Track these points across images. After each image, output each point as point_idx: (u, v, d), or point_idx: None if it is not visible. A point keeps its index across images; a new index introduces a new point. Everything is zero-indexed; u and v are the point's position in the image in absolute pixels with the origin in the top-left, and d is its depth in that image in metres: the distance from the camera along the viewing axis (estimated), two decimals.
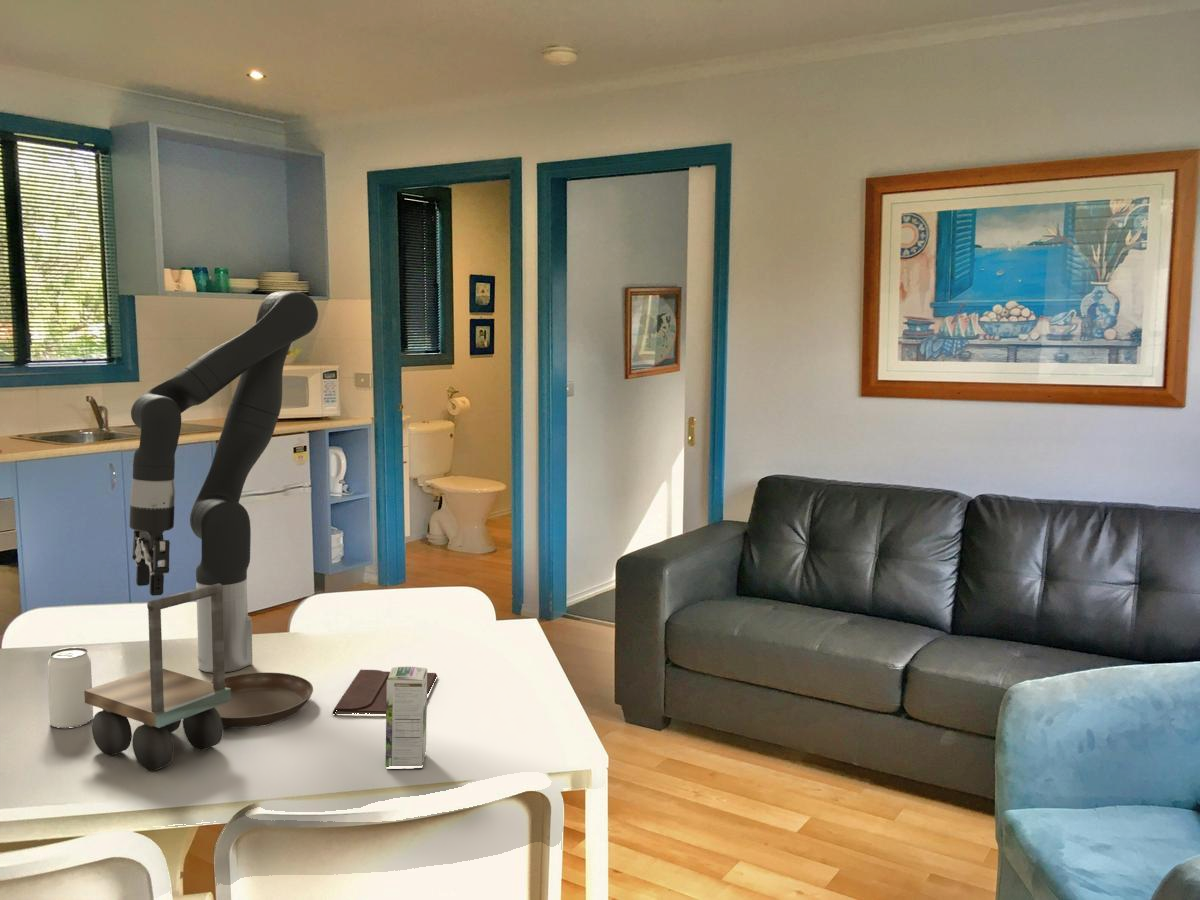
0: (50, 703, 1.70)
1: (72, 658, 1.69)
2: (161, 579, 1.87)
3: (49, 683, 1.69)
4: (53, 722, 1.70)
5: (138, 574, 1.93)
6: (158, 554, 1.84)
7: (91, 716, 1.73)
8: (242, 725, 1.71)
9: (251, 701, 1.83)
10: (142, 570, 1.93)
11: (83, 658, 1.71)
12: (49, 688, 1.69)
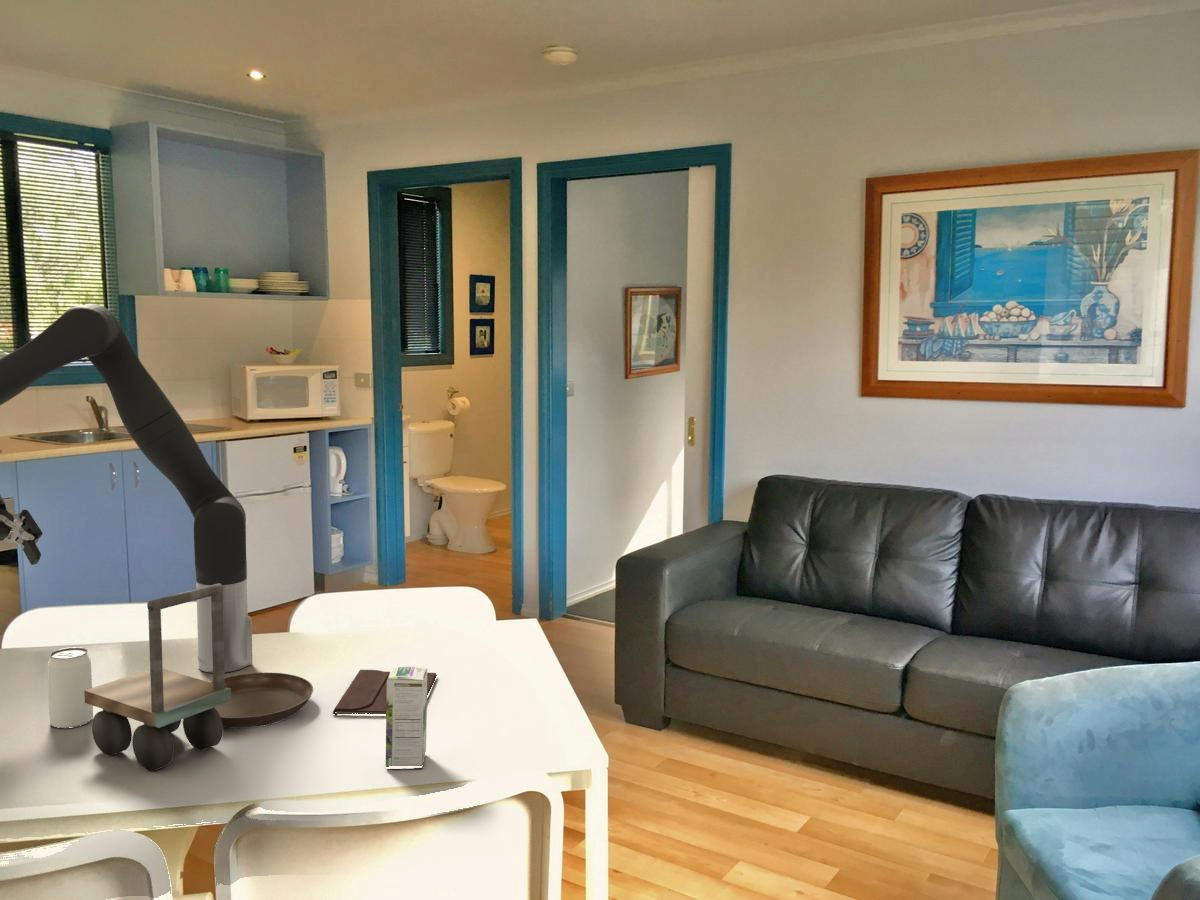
0: (50, 703, 1.70)
1: (72, 658, 1.69)
2: None
3: (49, 683, 1.69)
4: (53, 722, 1.70)
5: (26, 555, 1.80)
6: None
7: (91, 716, 1.73)
8: (242, 725, 1.71)
9: (251, 701, 1.83)
10: (26, 549, 1.80)
11: (83, 658, 1.71)
12: (49, 688, 1.69)
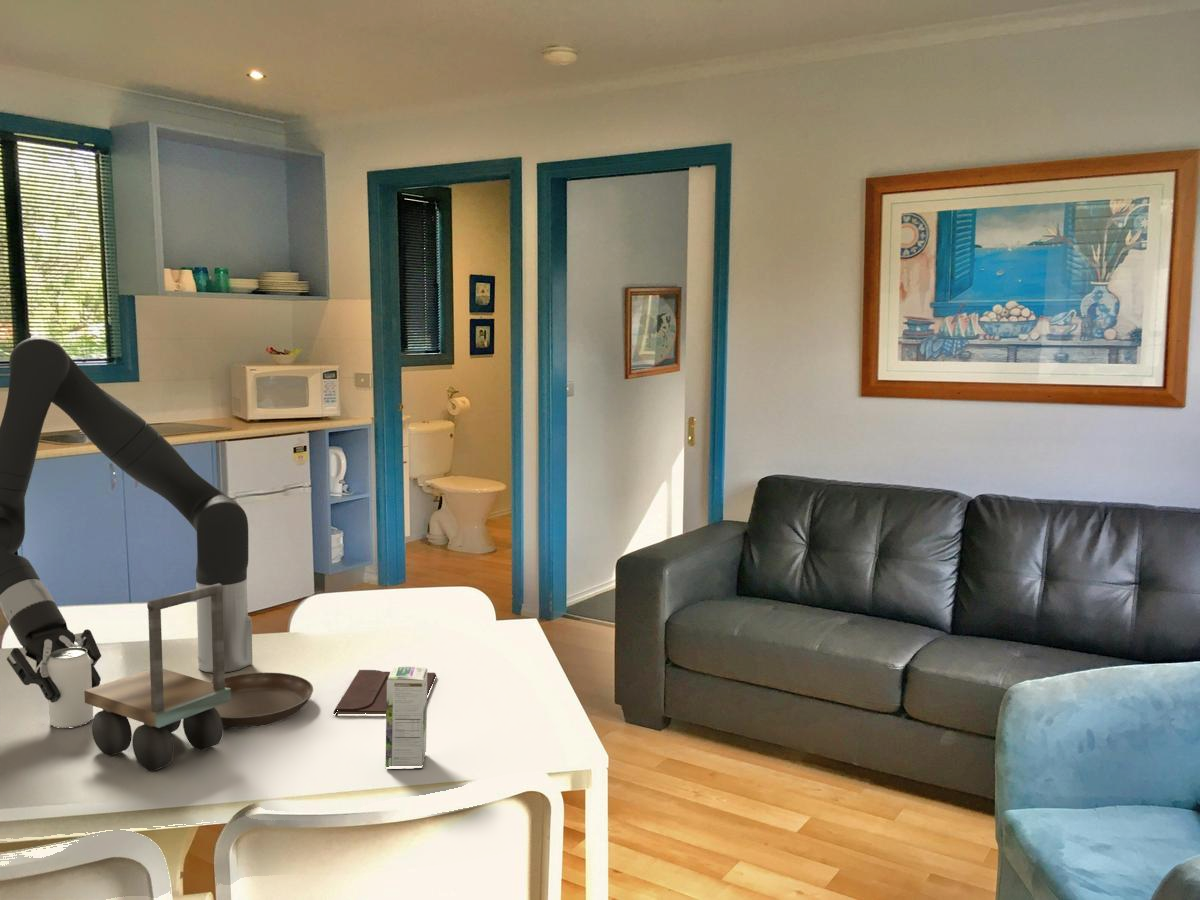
0: (50, 703, 1.70)
1: (72, 658, 1.69)
2: (43, 684, 1.68)
3: None
4: (53, 722, 1.70)
5: None
6: (14, 667, 1.68)
7: (91, 716, 1.73)
8: (242, 725, 1.71)
9: (251, 701, 1.83)
10: None
11: (83, 657, 1.71)
12: None
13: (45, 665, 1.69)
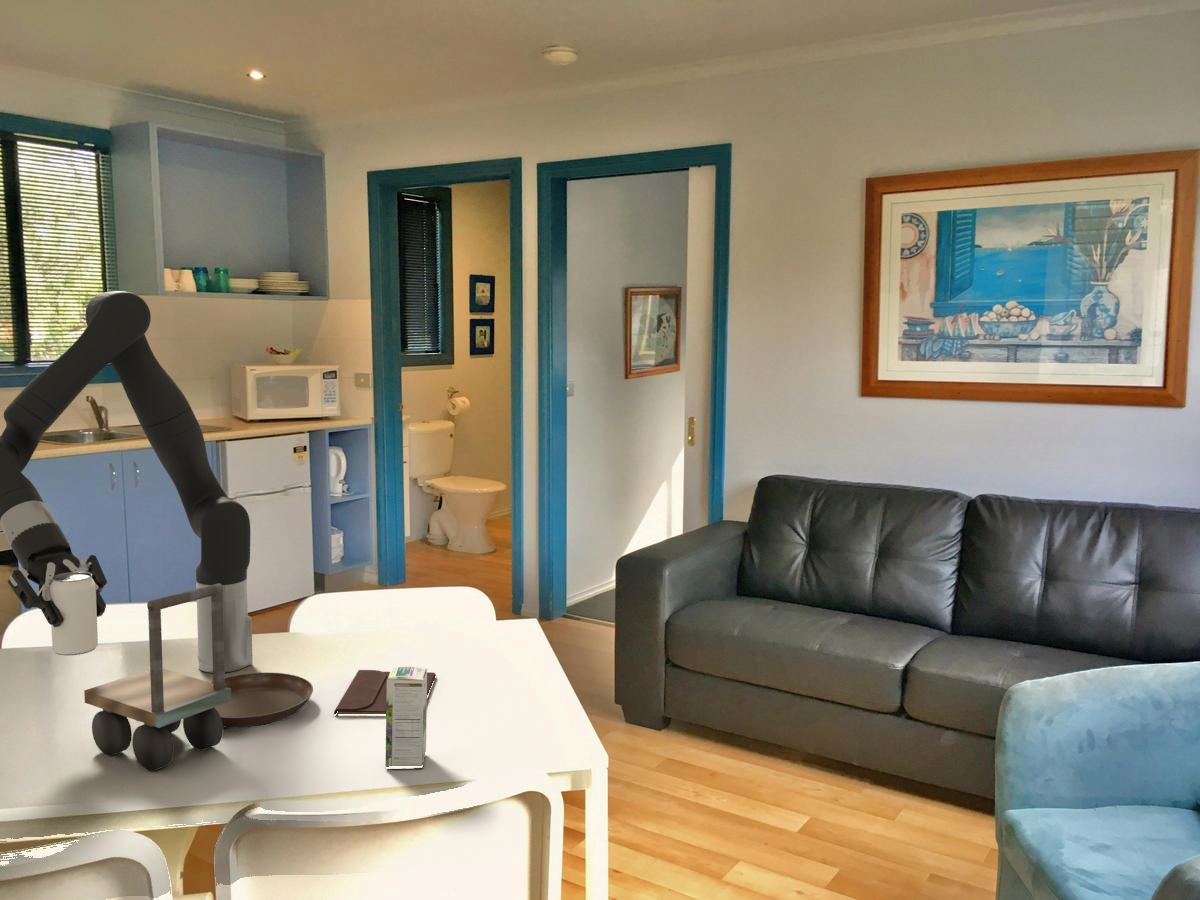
0: (53, 628, 1.61)
1: (76, 581, 1.60)
2: (45, 608, 1.59)
3: None
4: (56, 648, 1.61)
5: None
6: (15, 590, 1.59)
7: (96, 644, 1.64)
8: (242, 725, 1.71)
9: (251, 701, 1.83)
10: None
11: (87, 581, 1.62)
12: None
13: (48, 588, 1.61)
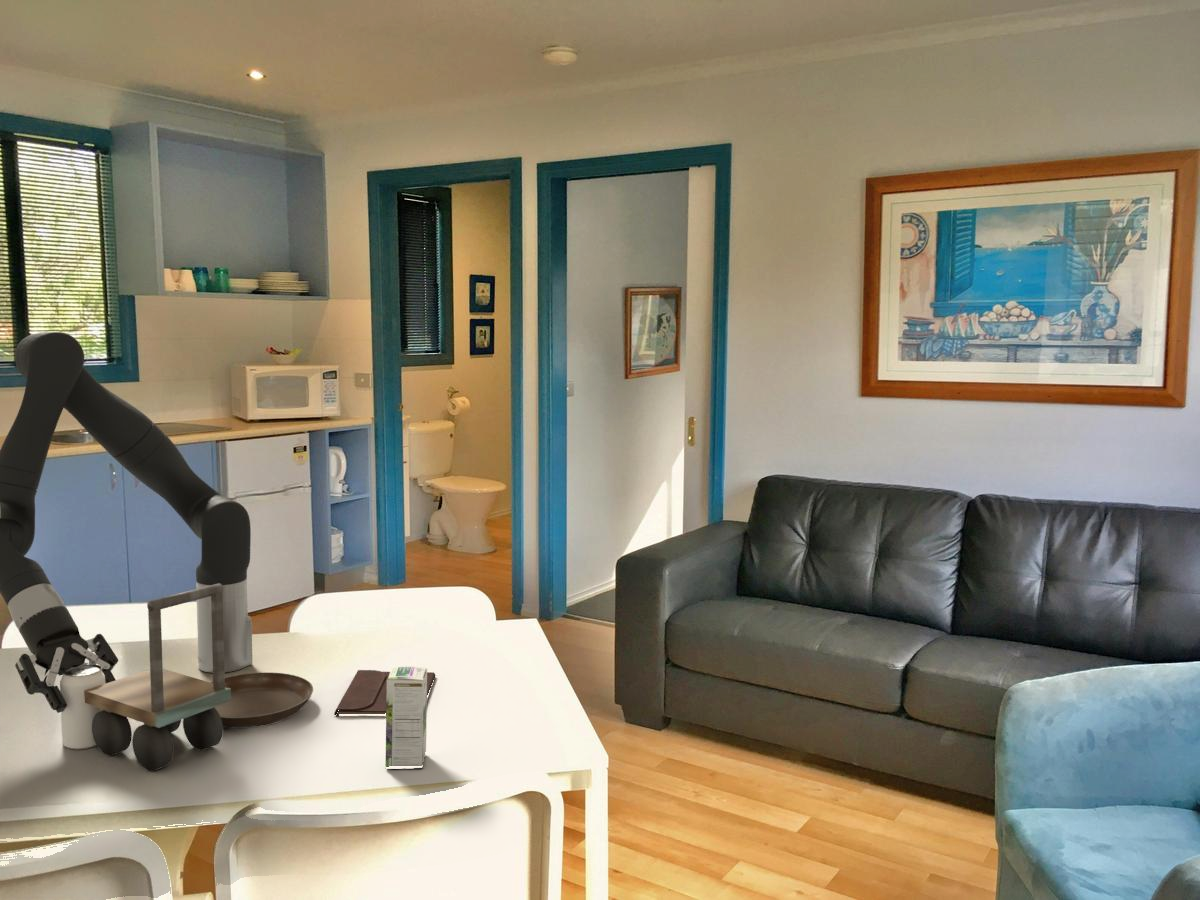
0: (63, 722, 1.62)
1: (86, 675, 1.61)
2: (48, 693, 1.59)
3: None
4: (66, 742, 1.62)
5: None
6: (21, 674, 1.59)
7: None
8: (242, 725, 1.71)
9: (251, 701, 1.83)
10: None
11: (97, 675, 1.63)
12: None
13: (52, 673, 1.61)
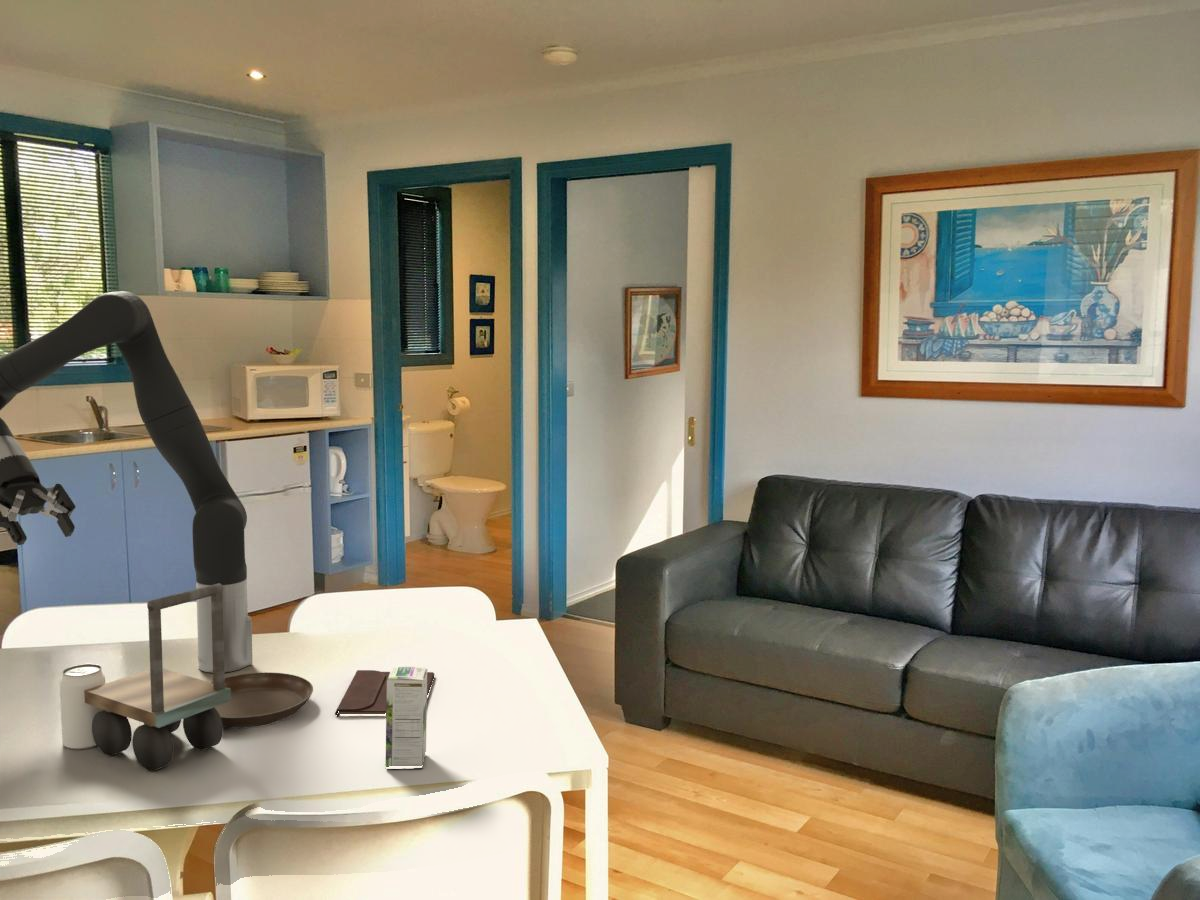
0: (63, 723, 1.62)
1: (86, 675, 1.61)
2: (10, 527, 1.77)
3: (62, 702, 1.61)
4: (66, 742, 1.62)
5: (60, 527, 1.85)
6: None
7: None
8: (242, 725, 1.71)
9: (251, 701, 1.83)
10: (60, 522, 1.85)
11: (97, 675, 1.63)
12: (62, 707, 1.62)
13: (14, 511, 1.78)
